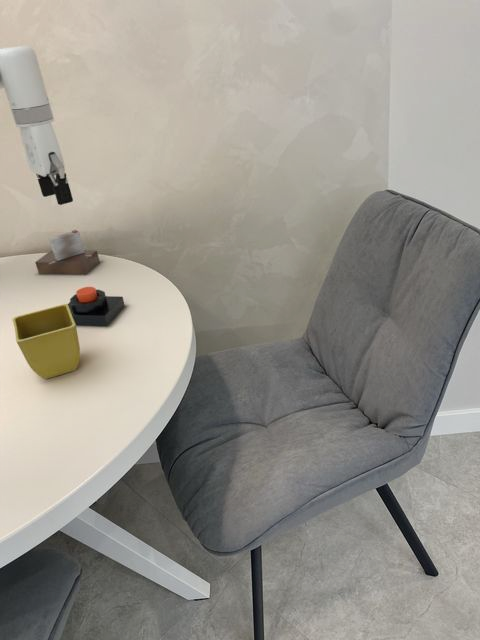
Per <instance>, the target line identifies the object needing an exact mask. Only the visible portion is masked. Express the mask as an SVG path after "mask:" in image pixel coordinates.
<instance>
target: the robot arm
mask: <svg viewBox="0 0 480 640" xmlns="http://www.w3.org/2000/svg"><path fill="white" fill-rule="evenodd" d="M0 89H4V92H5V94H6V98H7V101H8V104H9V107H10V110H11V114H12V118H13V121H14V123H15V126H16V127H17V128H19V132H20V138H21V141H22V146H23V148H24V153H25V157H26V160H27V163H28V164H27V165H28V167H29V170H30V171H31V172H33V173H35V175H36V177H37V182H38V185H39V188H40V191H41V195H42V197H45V198H46V197H50V196H55V198H56V199H55V200H56V202H57V205H59V206H63V205H66V204H69V203H72V202H73V201H74V198H73V194H72V191H71V188H70V187H71V186H70V184H69V180H68V178H67V176H68V175H67V173H66V172H65V170H66V167H65V163H64V162H65V161H64V159H63V155H62V150H61V147H60V144H59V141H58V139H57V135H56V132H55V129H54V128H53V124H52V123H53V122H55V118H54V114H53V111H52V107H51V104H50V103H51V102H50V100H49V96H48V93H47V89H46V86H45V83H44V79H43V75H42V71H41V67H40V63H39V60H38V57H37V54H36V52H35V50H34V48H33V47H31V46H29V45H17V46H7V47H2V48H0Z"/></svg>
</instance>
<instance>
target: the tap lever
mask: <svg viewBox="0 0 480 640" xmlns="http://www.w3.org/2000/svg"><path fill="white" fill-rule="evenodd" d="M49 243H50V246H51V249H52V250H53V253H54V256H55V259H56V260H57V261H59V260H63V259H66V258H69V257H72V256H75V255H78V254H82V253H85V252H84V250H85V248H84V245H83V240H82V237H81V234H80V232H79V230H77V229H74V230H71V231H70V232H67V233H64V234H60V235H56V236H53V237H49Z"/></svg>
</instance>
